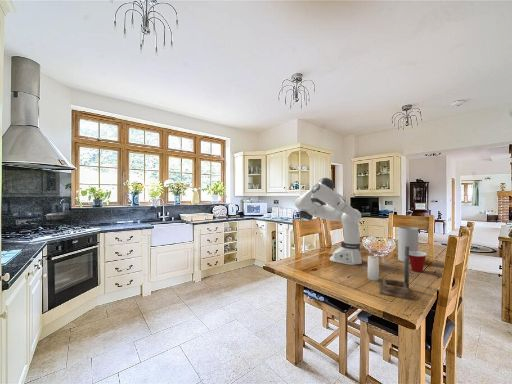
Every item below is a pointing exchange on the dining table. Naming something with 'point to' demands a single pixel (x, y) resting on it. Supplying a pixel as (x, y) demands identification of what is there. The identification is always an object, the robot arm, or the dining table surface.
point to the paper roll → (373, 268)
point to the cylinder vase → (407, 241)
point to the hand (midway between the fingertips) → (356, 213)
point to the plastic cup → (417, 260)
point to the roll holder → (398, 283)
